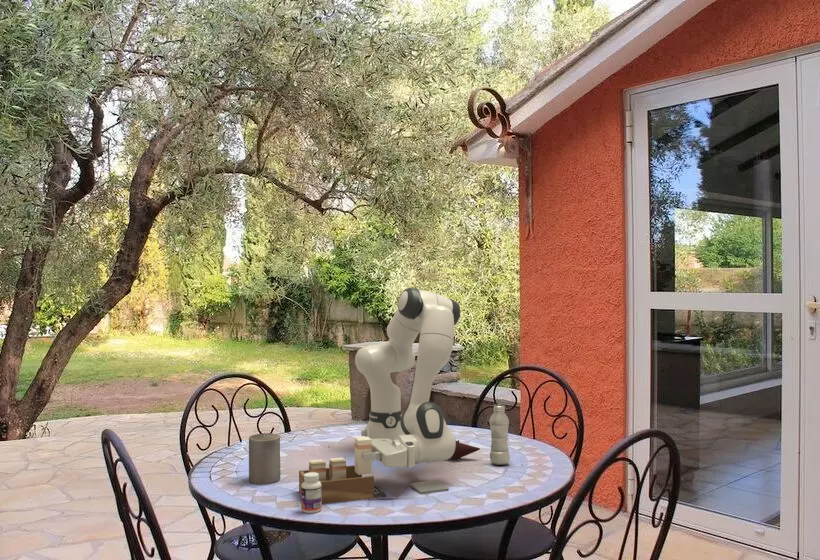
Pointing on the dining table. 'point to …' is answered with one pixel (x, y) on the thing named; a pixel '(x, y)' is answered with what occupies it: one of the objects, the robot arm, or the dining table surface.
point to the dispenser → (341, 481)
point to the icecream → (463, 450)
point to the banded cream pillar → (360, 447)
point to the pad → (429, 487)
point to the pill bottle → (311, 493)
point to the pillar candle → (264, 458)
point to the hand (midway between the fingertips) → (360, 453)
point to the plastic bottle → (499, 436)
